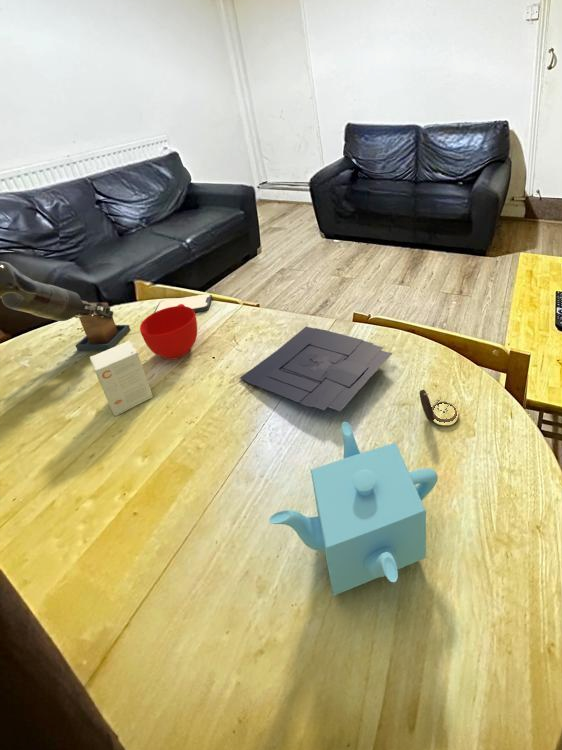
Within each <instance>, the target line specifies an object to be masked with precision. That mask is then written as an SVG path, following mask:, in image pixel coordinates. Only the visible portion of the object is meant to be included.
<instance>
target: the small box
mask: <svg viewBox="0 0 562 750" xmlns="http://www.w3.org/2000/svg"><path fill="white" fill-rule="evenodd" d="M89 360H90V363H91V365H92V368H93V369H94V370H93V371H94V373H95V375H96V376H97V380H98V381H99V384H100V387H101V389H102V391H103V395H104V397H105V398H106V400H107V403H108V405H109V408H110V410H111V412H112V414H113V416H114V417H117V416H119V415H122V414H123V413H124V412H126V411H127V412H128V410H131V409H132V408H135V407H136V406H139V405H141V404H143V403H144V402H147V401H148V400H150V399H152V398H153V397H154V395H153V392H152V390H151V387H150V384H149V381H148V378H147V375H146V372H145V370H144V367H143V364H142V361H141V358H140V356H139V353H138V352H137V350H136V348H135V347H134V345H133V344H132V342H131V341H130V340H128V341H125V342H123V343H121V344H117V345H116V346H115V347H113V348H111V349H108V350H106V351H100V352H99V353H96V354H93V355H92V356H91V355H90V356H89Z"/></svg>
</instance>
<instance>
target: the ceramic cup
mask: <svg viewBox="0 0 562 750" xmlns="http://www.w3.org/2000/svg"><path fill="white" fill-rule="evenodd" d="M154 312H155V311H154ZM154 312H153V313H151V314H149V315H148V316H146V317H145V319H144V320H142V322H141V323H140V326H139V331H140V334H141V336H142V339H143V341H144V343H145V344H146V346H147V347H148V348H149V350H150V351H151V352H152V353H153V354H155V355H157V356H158V357H162V358H164V359H167V360H176V359H179V358H182V357H185V355H187V354H188V353H189V352H190V351H191V349H192V348H193V346H194V344H195V342H196V339H197V336H198V321H197V315H196V312H194V310H193V309H192V308H189V307H186V306H184V305H183V304H179V305H178V306H175V307H169V308H165V309H162V310H160V311H157V312H155V313H154Z"/></svg>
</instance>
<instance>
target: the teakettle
mask: <svg viewBox="0 0 562 750" xmlns="http://www.w3.org/2000/svg"><path fill="white" fill-rule="evenodd" d="M341 433H342V440H343V455H342V456H343V457H342V459H339V460H336V461H332V462H330V463H326V464H323V465H320V466H318V467H314V468H312V469H310V474H311V480H312V486H313V491H314V492H313V494H314V499H315V505H316V511H317V516H306V515H304V514H302V513H301V512H299V511H297V510H293V509H284V510H280V511H278V512H275V513H274V514H272V515H271V516H270V517H269V518H268V521H269V523H270V524H272V525H285V526H288V527H290V528H291V529H293V530H294V531H295V533H296V535H297V536H298V538H299V539H300V540H301V541H302V543H303V544H304V546H306V547H308V548H309V549H311V550H313V551H319V552H324V553H325V559H326V564H327V570H328V574H329V580H330V585H331V591H332V596H333V597H335V596H338V595H339V594H342V593H344V592H347V591H349V590H352V589H355V588H357V587H359V586H361V585H363V584H364V585H365V584H366V583H369V582H371V581H374V580H376V579H379V578H383V577H386V578H387V580H388V581H389V582H391V583H396V582H397V581H398V578H399V571H398V570H400V569H404V568H405V567H407V566H410V565H412V564H416V562H420V561H421V560H425V559H426V558H427V511H426V509H425V507H424V504H423V500H424V499H425V498H426V497H427V496H428V495H429V494H430V493H431V491H432V490H434V488H435V486H436V484H437V482H438V478H439V477H438V473H437V471H435V469H433V468H430V467H428V468H427V467H425V468H419V469H414V470H411V471H409V469H408V467H407V465H406V463H405V460H404V458H403V455H402V453H401V451H400V449H399V446H398V443H397V442H392V443H389V444H385V445H383V446H380V447H376V448H373V449H370V450H366V451H363V452H361V451H360V449H359V447H358V444H357V441H356V438H355V435H354V431H353V428H352V425H350V423H349V422H347V421H343V422H342V424H341ZM354 587H355V588H354Z"/></svg>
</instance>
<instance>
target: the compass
mask: <svg viewBox="0 0 562 750" xmlns="http://www.w3.org/2000/svg"><path fill="white" fill-rule="evenodd" d="M419 399H420V404H421V407H422V410H423V412H424V416H425V418H426V419H427V421H428V422H433V420H434V419H436V420H437V421H439V422H444V423H445V422H450V421H453V420H454V419H455V418H456V416H457V411H456V408H457V407H456V406H455V405H454V404H453V403H451V402H449V403H447V402H448V401H440V399H439V400H438V402H439V401H440V402H439V403H438V402H435V403H436V404H435V403H434V404H435V405H434V406H433V407H431V406H432V404H431V400H430V398H429V392H426V390H425V389H421V390H420V391H419ZM442 403H444V404H447V405H448V406H449V405H450V406H452V407H453V408H454V410H455V414H454V416H453V417H452V418H450V419H447V418H446V419H440V418H438V417H437V416H436V415H435V414H434V412H433V410H434V408H435V406H436V405H437V406H438V407H439V404H442ZM450 403H451V404H450ZM452 404H453V405H454V406H455V407H456V408H455V407H454V406H453V405H452ZM448 406H447V407H448ZM437 409H438V410H439V408H437ZM445 410H446V412H447V411H448V410H447V408H446V409H445ZM440 411H442V410H440ZM443 413H445V411H443Z"/></svg>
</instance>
